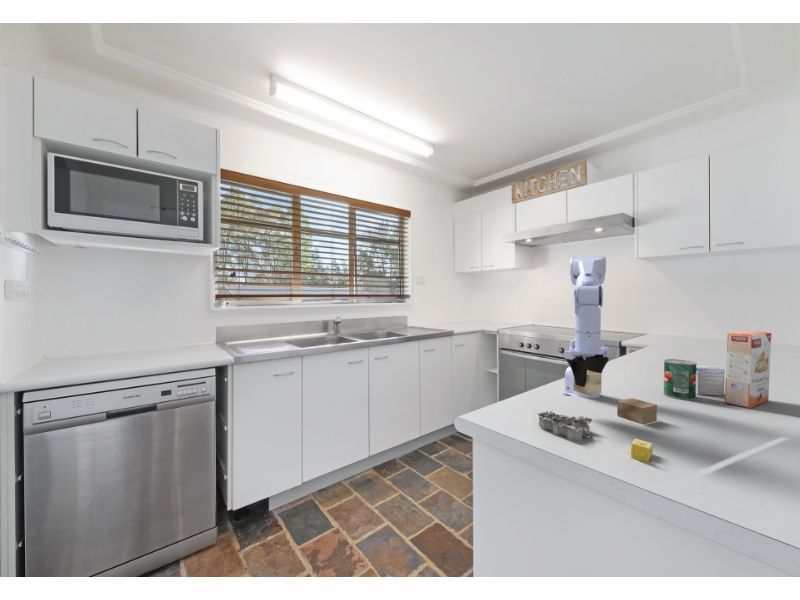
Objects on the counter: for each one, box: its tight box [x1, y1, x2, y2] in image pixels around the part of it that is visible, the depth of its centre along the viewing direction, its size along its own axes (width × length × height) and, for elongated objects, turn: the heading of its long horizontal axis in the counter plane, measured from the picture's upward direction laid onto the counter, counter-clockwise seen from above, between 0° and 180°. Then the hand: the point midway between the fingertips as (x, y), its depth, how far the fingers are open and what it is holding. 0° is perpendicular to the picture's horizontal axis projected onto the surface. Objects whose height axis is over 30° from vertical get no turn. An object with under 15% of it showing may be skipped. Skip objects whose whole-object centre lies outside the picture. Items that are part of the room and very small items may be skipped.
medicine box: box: [696, 365, 726, 396], centre depth 110 cm, size 8×4×9 cm, turn 84°
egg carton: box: [536, 410, 593, 441], centre depth 81 cm, size 11×8×4 cm
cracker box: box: [724, 330, 772, 409], centre depth 101 cm, size 14×6×21 cm, turn 117°
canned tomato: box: [662, 358, 697, 401], centre depth 107 cm, size 8×8×11 cm
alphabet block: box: [630, 438, 654, 464], centre depth 67 cm, size 3×3×3 cm
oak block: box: [573, 370, 603, 395], centre depth 88 cm, size 4×4×5 cm
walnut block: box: [616, 397, 658, 426], centre depth 86 cm, size 6×6×4 cm
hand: (587, 384), depth 88 cm, fingers closed on oak block, 4 cm apart
